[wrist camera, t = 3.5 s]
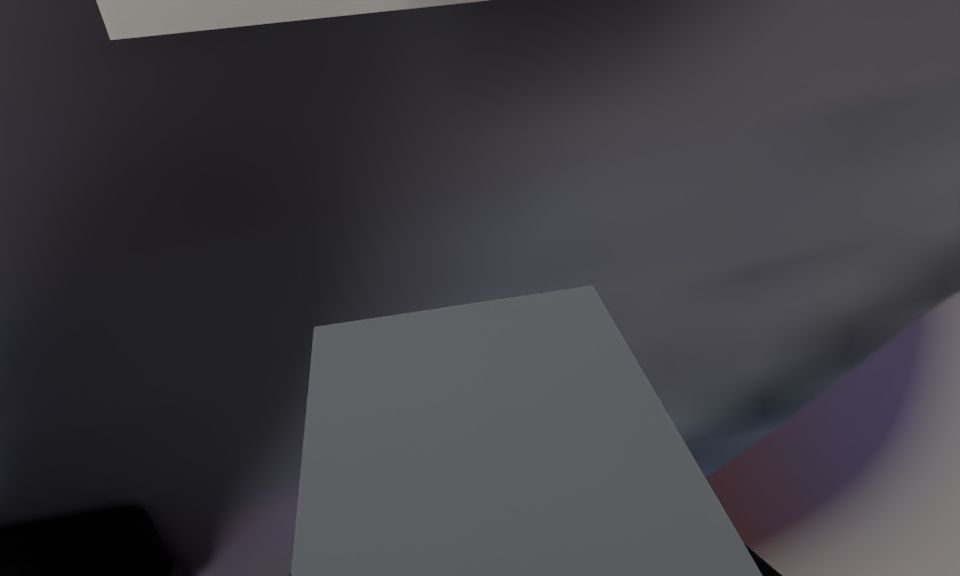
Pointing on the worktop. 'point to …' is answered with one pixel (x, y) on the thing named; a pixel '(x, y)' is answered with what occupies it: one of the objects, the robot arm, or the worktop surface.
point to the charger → (498, 451)
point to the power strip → (233, 13)
